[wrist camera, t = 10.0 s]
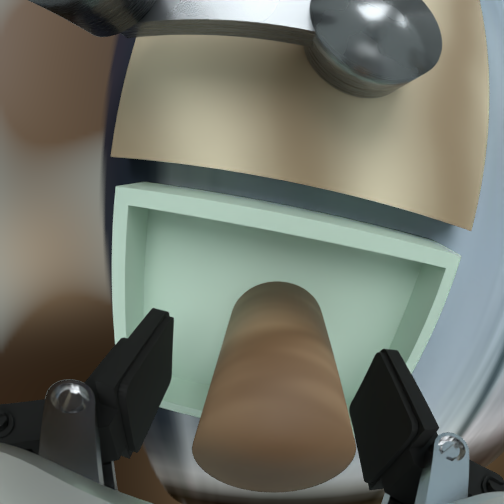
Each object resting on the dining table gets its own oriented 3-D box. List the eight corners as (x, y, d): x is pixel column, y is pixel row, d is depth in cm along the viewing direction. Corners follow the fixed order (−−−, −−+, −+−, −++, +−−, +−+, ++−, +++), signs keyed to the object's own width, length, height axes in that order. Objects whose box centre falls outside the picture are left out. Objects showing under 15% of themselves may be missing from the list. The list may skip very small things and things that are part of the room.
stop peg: (333, 290, 12) (383, 417, 5) (308, 365, 13) (322, 494, 6) (238, 272, 12) (196, 396, 5) (225, 351, 13) (190, 479, 6)
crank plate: (461, -18, 7) (472, -28, 5) (453, 224, 11) (471, 231, 10) (201, -78, 7) (196, -92, 6) (128, 156, 11) (110, 156, 10)
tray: (432, 240, 11) (461, 255, 9) (363, 404, 14) (372, 436, 12) (144, 181, 12) (115, 186, 9) (139, 366, 15) (121, 394, 12)
